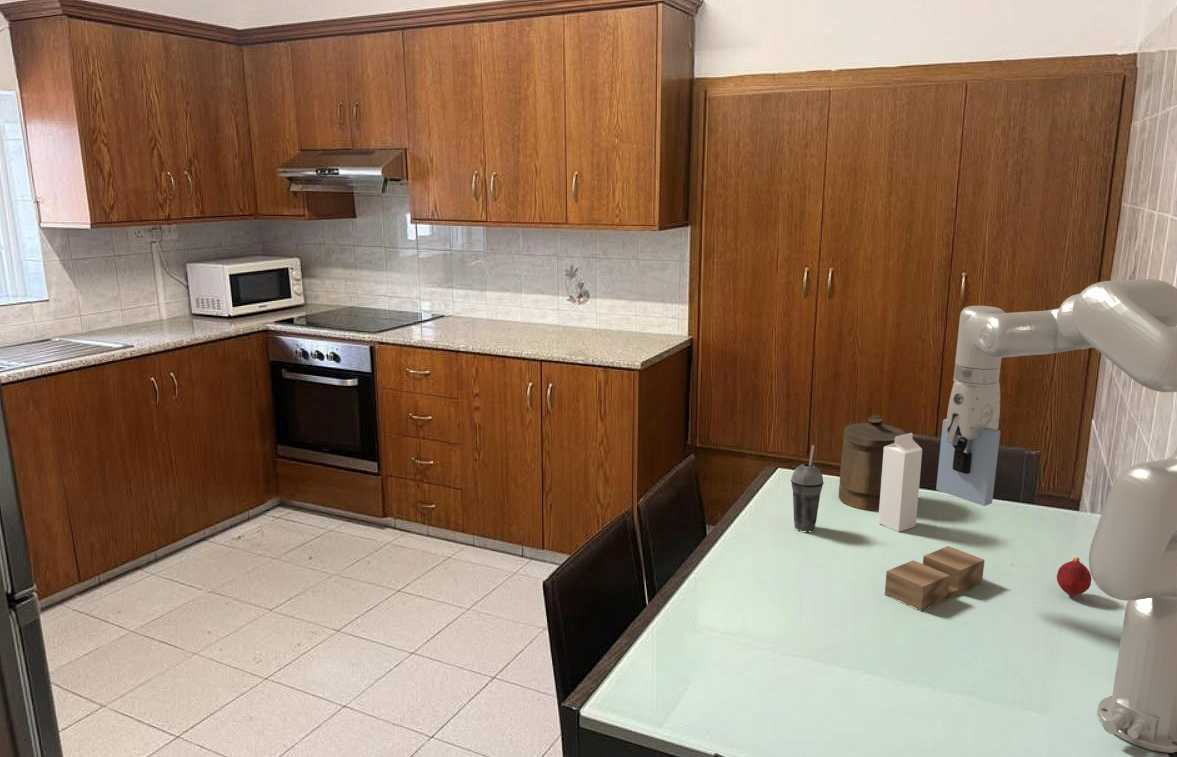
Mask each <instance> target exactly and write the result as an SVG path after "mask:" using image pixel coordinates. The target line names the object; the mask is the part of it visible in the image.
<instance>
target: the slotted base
mask: <svg viewBox="0 0 1177 757" xmlns="http://www.w3.org/2000/svg"><path fill="white" fill-rule="evenodd" d="M922 559H923V561H922V563H921V562H918V561H916V560H914V559H913V560H911V561H908V562H905V563H902V564H900V565H897V566H895V567H894V568H890V569H889V570H886V574H885V576H886V577H885V586H884V588H885V589H884V595H885V594H887V595H889V596H891V597H893V598H895V599H897V600H900V601H902V602H904V603H906V604H908V605H911V606H913V607H915V608H917V609H919V610H923V609H925V610H927V609H929V608H931V607H934V606H936V605H937V603H938V604H940V603H942V602H944V601H946V600H949V599H950V598H952V597H956V596H957V595H959V594H961V593H964V592H966V591H969V589H972V588H975V587H977V586H978V585H981V584H982V583H983V578H984V577H983V576H984V568H985V559H984V558H981V557H979V556H975V555H973V554H970V553H968V552H966V551H963V550H960V549H957V548H954V547H951V546H949V545H947V546H945V547H942V548H940V549H938V550H935V551H931V552H930V553H927V554H925V555H923V558H922ZM889 596H888V597H889ZM891 597H890V598H891ZM893 598H892V599H893ZM895 599H894V600H895ZM897 600H896V601H897ZM902 602H901V603H902ZM939 602H940V603H939ZM904 603H903V604H904ZM906 604H905V605H906ZM935 604H936V605H935ZM908 605H907V606H908ZM930 606H931V607H930ZM913 607H912V608H913ZM928 607H929V608H928ZM915 608H914V609H915ZM926 608H927V609H926ZM917 609H916V610H917ZM919 610H918V611H919ZM923 611H924V610H923Z"/></svg>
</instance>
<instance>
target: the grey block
mask: <svg viewBox="0 0 1177 757" xmlns="http://www.w3.org/2000/svg"><path fill="white" fill-rule="evenodd" d="M946 422H947V418H945V419H943V420H942V427H941V428H942V429H941V438H940V446H939V457H938V468H937V479H936V488H935V489H936V491H939V492H942V493H943V494H948V495H950V496H954V497H956V498H959V499H962V500H966V501H969V502H971V503H974V504H976V505H980V506H984V507H986V506H989V505H993V498H994V489H995V481H996V473H997V463H998V462H997V461H998V454H999V446H1000V440H1001V438H1000V437H1001V430H1000V429H998V430H996V429H992V428H986V429H983V430H981V436H980V437H979V438H976V439H973V440H971V447H970V452H969V453H972V457H971V466H970V473H969V474H964V473H961V472H958V471H955V470H953V459H954V450H953V445H952V444H950V443H948V442H947V441H946V440H947V437H948V433H947V430H946ZM960 434H961V432H960ZM960 440H961V441H963V442H964V444H965V440H963V439H960Z"/></svg>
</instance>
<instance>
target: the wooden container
mask: <svg viewBox="0 0 1177 757" xmlns="http://www.w3.org/2000/svg"><path fill="white" fill-rule="evenodd" d="M867 420H868V422H861V423H859V422H858V423H852V424H849V425H847V426H845V427H844V430H843V436H842V437H843V439H842V440H843V442H842V449H841V460H840V468H839V470H840V471H839V486H838V487H839V488H838V499H839V500H840V502H842V503H843V504H845V505H848V506H850V507H852V508H856V509H860V510H864V511H872V512H873V511H877V512H879V505H880V492H881V478H882V465H883V452H884V447H885V446H888V445H891V444H894V443H895V437H896V436H901V435H905V434H907V432H905V431H904V430H903V429H901V428H899V427H896V426H892V425H888V424H883V423H884V419H883V418H882V417H881V416H880V415H877V414H875V415H871V416H869V417H868V419H867Z"/></svg>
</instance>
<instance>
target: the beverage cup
mask: <svg viewBox="0 0 1177 757" xmlns="http://www.w3.org/2000/svg"><path fill="white" fill-rule="evenodd" d="M810 450H811V451H810V457H809V463H802V464H800V465H798V466H797V467H796V468H795V469H794V470H793V472H792V476H791V479H790V482H791V489H792V500H793V501H792V502H793V505H792V506H793V522H794V523H793V524H794V529H795V528H796V529H798V530H801V531H806V532H805V533H810V532H809V531H813V530H814V529H816V524H817V519H818V512H819V505H820V504H819V503H820V497H821V493H822V489H823V485H824V484H825V483H824V477H823V474H822V472H821V470H820V469H819V467H817V466H816V465H814V464H813V459H814V452H815V445H814V444H812V445H811V449H810ZM796 529H795V530H796ZM814 531H815V530H814ZM814 531H813V532H814Z"/></svg>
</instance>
